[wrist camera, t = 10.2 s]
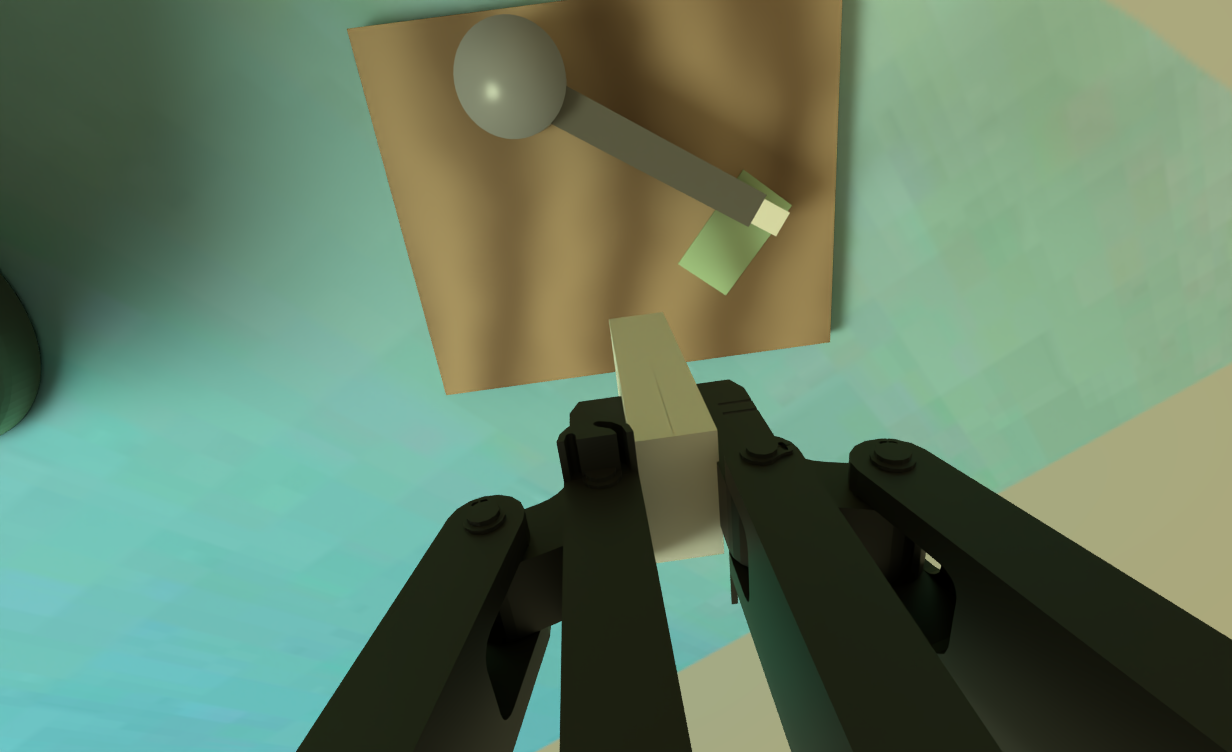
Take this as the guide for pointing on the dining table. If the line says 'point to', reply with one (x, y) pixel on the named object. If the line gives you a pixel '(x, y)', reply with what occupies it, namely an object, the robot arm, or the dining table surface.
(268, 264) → the dining table surface
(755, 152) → the board
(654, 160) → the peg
